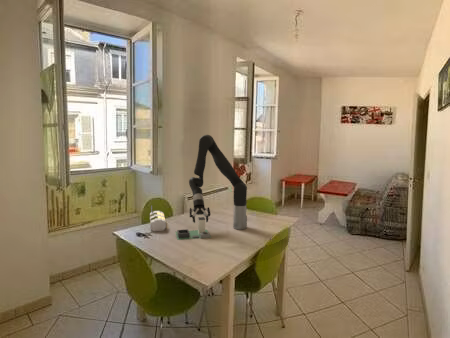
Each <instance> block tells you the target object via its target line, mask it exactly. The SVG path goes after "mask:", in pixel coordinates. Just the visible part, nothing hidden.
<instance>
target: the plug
mask: <svg viewBox="0 0 450 338" xmlns="http://www.w3.org/2000/svg"><path fill="white" fill-rule="evenodd" d="M197 230H198V234H199V235H200V233H203V232H205V230H206V217H205V216H203V217H202V216H201V217H198V218H197Z"/></svg>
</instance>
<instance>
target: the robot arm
mask: <svg viewBox="0 0 450 338" xmlns="http://www.w3.org/2000/svg"><path fill="white" fill-rule="evenodd" d="M208 152H209V154H210V155H211V156H212V159H213V162H214V164H215V166H216V168H217V169H218V171H220V173H221V174H222V175H223V176H224V177H225V178H226V179H228V181H229V182H230V184H231V185H232V187H233V218H232V219H233V221H232V228H233V229H234V230H239V231H240V230H245V229H247V227H248V225H247V224H248V215H247V203H248V202H247V195H248V194H247V193H248V186H247V184H246V183H245V181H243V180H242V178H240V176H239V175H238V174H237V172H236V170H235V169H234V167H233V166H232V164H231V162H230V161H229V160H228V158H227V157H226V156H225V154H224V153H223V152H222V150H221V149H220V148H219V146H218V145H217V143H216V140H215V139H214V137H213V136H212V135H210V134H204V135H202V136H201V137H200V138H199V140H198V152H197V156H196V157H197V158H196V162H195V166H194V170H193V175H195V176H191V177H190V178H189V179H188V184H189V188H190V190H191V192H192V204H193V205H192V206H193V208H192V207H190V208H189V218H192V222H193V223H194V224H195V223H196V216H199V215H200V216H201V215H203V217H204V218H205V223H208V222H209V217H210V216H211V209H210V207H205V200H204V196H203V194H204V193H203V189H202V187H203V186H204V173H205V169H206V163H207V162H206V161H207V155H208ZM196 176H197V177H196ZM193 212H194V213H193ZM192 213H193V214H192Z"/></svg>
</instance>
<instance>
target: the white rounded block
mask: <svg viewBox="0 0 450 338" xmlns="http://www.w3.org/2000/svg"><path fill="white" fill-rule="evenodd" d="M150 209H151V210H150V211H151V212H150V213H149V223H150V224H149V225H150V229H151V231H152V232H157V231H158V232H160V231H165V230H166V229H167V221H166V218H165V213H164V212H163V211H161V210H153V205H151V206H150Z"/></svg>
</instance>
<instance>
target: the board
mask: <svg viewBox="0 0 450 338" xmlns="http://www.w3.org/2000/svg"><path fill="white" fill-rule="evenodd" d="M174 233H175V237H176V239H177V241H181V240H195V239H212V236H211V234H210V232H209V231H208V229H205V232H203V233H200V235H199V234H198V229H196V230H195V229H193V230H189V229H177V230H176V231H175V232H174Z"/></svg>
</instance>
